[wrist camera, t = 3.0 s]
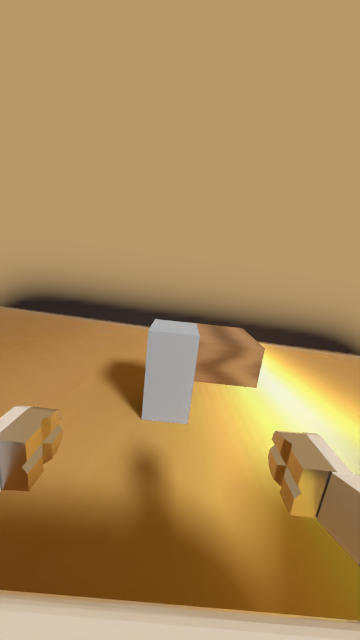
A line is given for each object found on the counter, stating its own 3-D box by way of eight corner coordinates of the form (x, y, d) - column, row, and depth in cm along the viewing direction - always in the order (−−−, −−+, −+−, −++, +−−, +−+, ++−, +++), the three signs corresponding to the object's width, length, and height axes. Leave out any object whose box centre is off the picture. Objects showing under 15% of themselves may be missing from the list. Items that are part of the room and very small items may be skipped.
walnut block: (184, 381, 28) (189, 340, 26) (183, 353, 37) (187, 322, 36) (255, 389, 28) (264, 348, 26) (236, 359, 38) (242, 328, 36)
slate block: (141, 419, 19) (148, 330, 17) (149, 392, 24) (155, 319, 22) (187, 424, 20) (199, 336, 18) (186, 396, 24) (196, 323, 22)
